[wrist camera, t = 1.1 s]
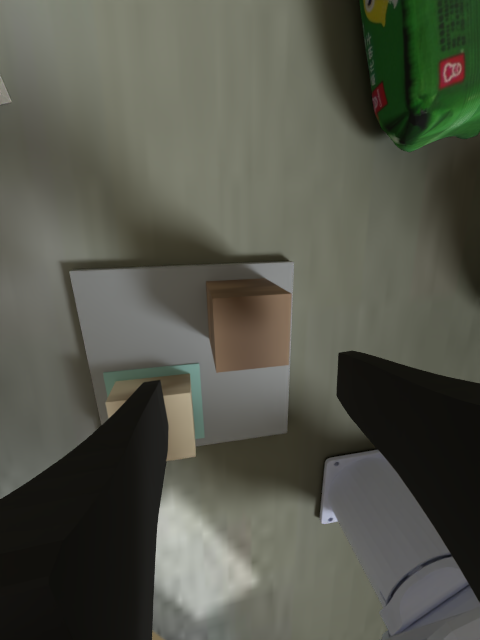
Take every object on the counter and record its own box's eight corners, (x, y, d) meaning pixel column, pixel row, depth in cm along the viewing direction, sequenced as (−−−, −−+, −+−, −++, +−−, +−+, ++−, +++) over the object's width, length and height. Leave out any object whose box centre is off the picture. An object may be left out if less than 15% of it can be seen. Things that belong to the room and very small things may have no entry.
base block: (190, 373, 20) (190, 392, 17) (194, 431, 21) (195, 456, 19) (115, 381, 19) (105, 402, 16) (126, 441, 20) (118, 468, 18)
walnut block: (265, 278, 19) (291, 293, 14) (264, 333, 20) (288, 365, 15) (205, 281, 18) (212, 298, 13) (209, 338, 19) (216, 372, 14)
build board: (289, 261, 19) (294, 262, 18) (284, 426, 24) (287, 433, 23) (74, 269, 17) (68, 271, 16) (111, 451, 21) (108, 460, 20)
